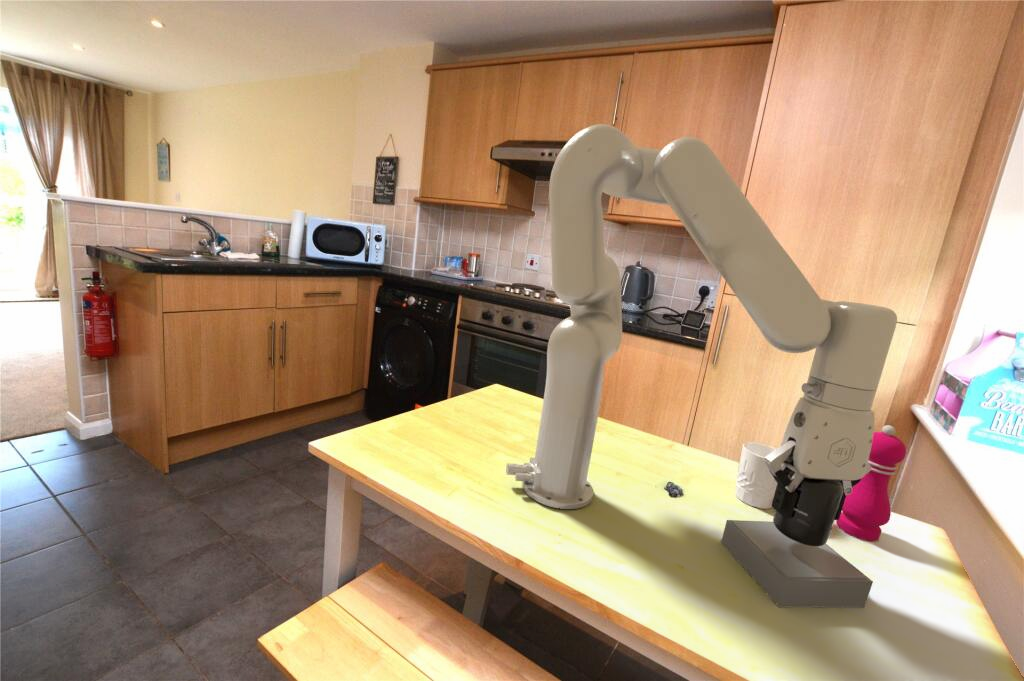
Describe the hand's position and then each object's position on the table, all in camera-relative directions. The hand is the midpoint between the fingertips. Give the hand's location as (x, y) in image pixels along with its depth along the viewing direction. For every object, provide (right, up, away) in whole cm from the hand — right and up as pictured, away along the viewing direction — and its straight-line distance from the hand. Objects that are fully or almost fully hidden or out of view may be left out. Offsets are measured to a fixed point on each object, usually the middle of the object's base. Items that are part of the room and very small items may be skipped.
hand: (804, 512), depth 65 cm
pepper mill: (+20, -10, +16) cm, 27 cm away
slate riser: (-1, -9, +2) cm, 10 cm away
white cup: (+5, -6, +23) cm, 24 cm away
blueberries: (-12, -5, +22) cm, 26 cm away
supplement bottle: (0, -3, +1) cm, 3 cm away
